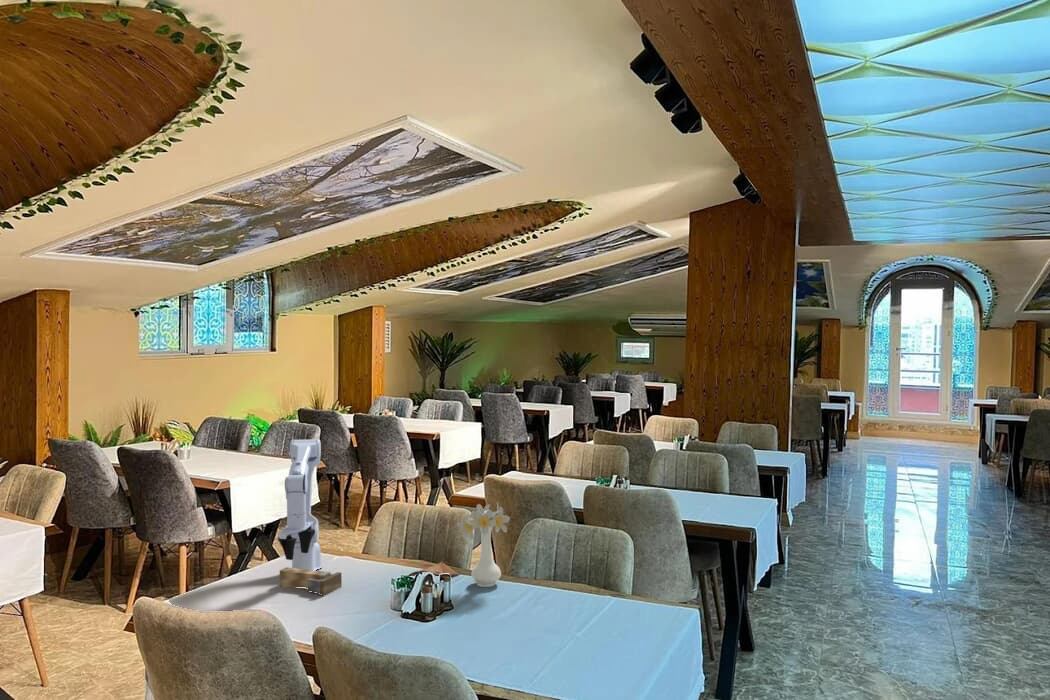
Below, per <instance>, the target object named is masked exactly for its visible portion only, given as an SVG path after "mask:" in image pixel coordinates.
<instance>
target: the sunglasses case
mask: <svg viewBox="0 0 1050 700" xmlns="http://www.w3.org/2000/svg"><path fill="white" fill-rule="evenodd" d="M418 572H431V573H433V574H434V575H435V576H439V574H441V573H449V574H450V575H451V577H452V578H454V577H457V576H460V574H461V573H458V572H456V571H455V570H453V568H451V567H450V566H448V565H447V564H445V563H444V561H440V562H439V563H436V564H433V565H431V566H427V567H425V568H423V569H420V570H418V571H412V573H409V574H408V575H407V576H415V575H416V574H417V573H418Z"/></svg>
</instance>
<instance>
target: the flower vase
mask: <svg viewBox="0 0 1050 700" xmlns="http://www.w3.org/2000/svg"><path fill="white" fill-rule="evenodd" d="M490 505H491V504H489V503H488V504H486V505H485V506H484V508H483V506H482V505H481V503H477V504H476V507H475V508H476V511H474V510H472V511H471V512H470V514H469V518H471V520H470V521H468V520H467V519H466V518H465V517H462V518H461V520H462V522H457V523H456V526H457V527H458V528H459V529H461V530H463V531H462V539H466V538H467V537H468V536H469V538H470V539H471V540H472V541H475V536H474V535H475V534H474V530H475V529H480V535H481V536H480V538H481V542H480V544H481V545H480V556H479V560H478V562H477V563H476V564H475V565H474V566H473V568H472V569H471V579H472V580H474V582H475V583H476V586H477V587H480V588H492V587H494V586H496V585H497V582H498V581H499V580H500V577H502V572H501V569H500V567H499V566H498V565H497V564H496V563H495V560H494V558H493V556H492V530H493V527H495V532H496V533H499V531H501V530H502V531H503V532H504V533H507V532H508V527H507V526H506V523H507V524H508V523H509V522H510V519H511V517H510V516H509V515H504V509H503V508H502V506H500V505H499V503H498V502H496V505H497V506H496V507H497V508H496V511H492V510H490V507H491V506H490Z"/></svg>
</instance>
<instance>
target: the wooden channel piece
mask: <svg viewBox="0 0 1050 700" xmlns="http://www.w3.org/2000/svg"><path fill="white" fill-rule="evenodd" d="M342 580H343V579H342V572H338V571H337V572H335V573H331V576H329V577H326V578H324V579H322V580H317V579H308V590H307V592H308V591H312V592H317V593H320V594H322V595H325V596H327V595H329V594H331V593H333V592H335V591H337V590H338V588H339V589H341V588H342V584H343V581H342ZM340 587H341V588H340ZM336 589H337V590H336ZM334 590H335V591H334ZM332 591H333V592H332ZM330 592H331V593H330ZM328 593H329V594H328ZM320 594H319V595H320ZM326 594H327V595H326Z"/></svg>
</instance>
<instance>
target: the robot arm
mask: <svg viewBox="0 0 1050 700" xmlns="http://www.w3.org/2000/svg"><path fill="white" fill-rule="evenodd" d="M321 451H322V444H321V440H320V438H317V439H291V441H290V442H289V456H290V459H291V465H290V469H289V471H288V472H289V473H288V475H287V476H285V479H284V491H285V500H286V521H287V522H286V523H287V524H286V525H285V526H284V529H283V530H281V531H279V532H278V533H279V534H278V535H279V536H278V537H277V541H278V542H279V544H280V546H281V547H282V550H283V552H284V553H283V554H284V556H285V559H286V560H288V561H291V568H297V569H306V570H317V569H319V570H321V569H323V568H324V566H323V565H322V561H321V560H322V558H321V557H322V555H321V553H322V552H321V546H320V544H319V543H318V542H319V538H320V533H319V531H320V528H319V523H320V522H319V520H318V518H316V517H315V516H314V515H312V513H311V512H312V493H313V491H312V490H313V475H314V471H315V468H316V467H318V466H319V465H320V462H321V453H322V452H321ZM320 568H321V569H320ZM317 571H318V570H317Z"/></svg>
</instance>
